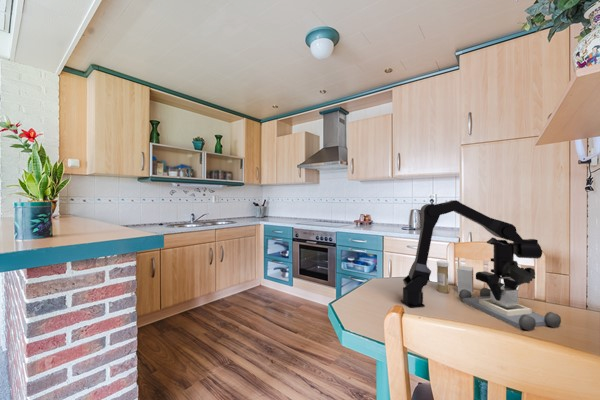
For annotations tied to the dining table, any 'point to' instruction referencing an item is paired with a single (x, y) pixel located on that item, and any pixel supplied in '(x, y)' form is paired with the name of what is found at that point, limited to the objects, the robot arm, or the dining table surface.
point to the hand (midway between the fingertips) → (503, 299)
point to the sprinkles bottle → (442, 276)
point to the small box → (465, 278)
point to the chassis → (510, 312)
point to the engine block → (506, 297)
